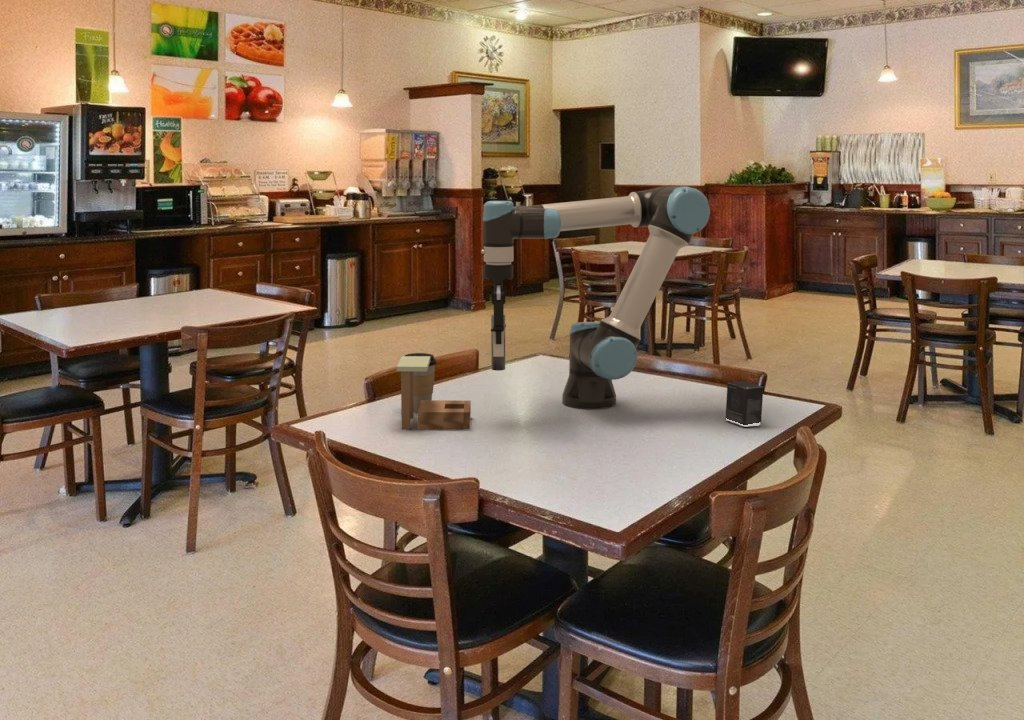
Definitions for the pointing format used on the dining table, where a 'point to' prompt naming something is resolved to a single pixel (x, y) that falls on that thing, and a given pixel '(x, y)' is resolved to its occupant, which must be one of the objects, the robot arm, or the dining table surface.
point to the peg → (496, 362)
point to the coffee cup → (423, 382)
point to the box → (744, 402)
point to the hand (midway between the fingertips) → (498, 354)
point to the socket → (444, 415)
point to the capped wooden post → (409, 384)
